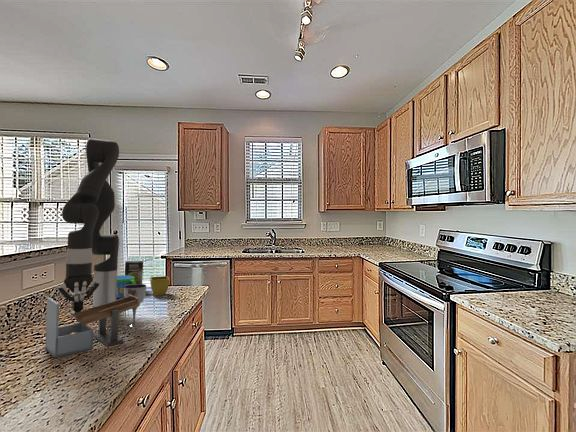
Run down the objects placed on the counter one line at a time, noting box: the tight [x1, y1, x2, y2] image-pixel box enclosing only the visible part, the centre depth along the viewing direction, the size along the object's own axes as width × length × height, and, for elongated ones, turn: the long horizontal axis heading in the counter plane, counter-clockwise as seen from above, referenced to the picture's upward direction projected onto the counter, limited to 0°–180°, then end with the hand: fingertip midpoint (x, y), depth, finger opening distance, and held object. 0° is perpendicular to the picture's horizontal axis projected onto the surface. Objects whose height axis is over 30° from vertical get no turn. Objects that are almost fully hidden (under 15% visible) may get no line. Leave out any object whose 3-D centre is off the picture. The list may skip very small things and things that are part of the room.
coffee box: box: [124, 260, 144, 284], centre depth 184 cm, size 9×6×16 cm
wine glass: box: [123, 283, 147, 329], centre depth 130 cm, size 8×8×15 cm
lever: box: [69, 295, 141, 325], centre depth 117 cm, size 14×18×3 cm
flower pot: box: [149, 275, 170, 297], centre depth 177 cm, size 9×9×9 cm
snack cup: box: [116, 274, 136, 299], centre depth 170 cm, size 16×10×10 cm
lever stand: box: [93, 303, 125, 347], centre depth 115 cm, size 13×5×11 cm, turn 49°
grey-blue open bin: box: [44, 297, 94, 359], centre depth 106 cm, size 10×10×16 cm
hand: (77, 311), depth 115 cm, fingers closed
